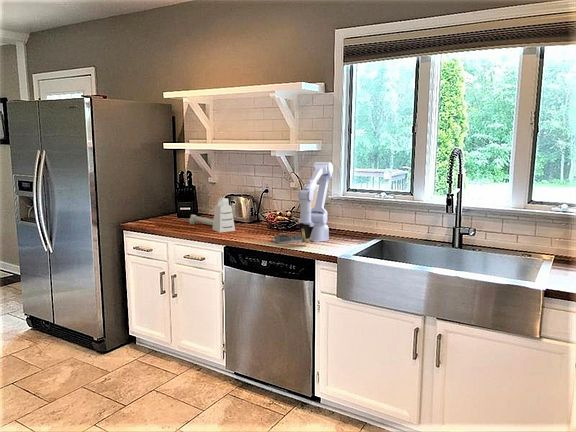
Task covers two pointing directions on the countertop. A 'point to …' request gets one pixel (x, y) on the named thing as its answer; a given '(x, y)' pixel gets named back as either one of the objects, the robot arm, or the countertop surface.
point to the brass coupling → (304, 236)
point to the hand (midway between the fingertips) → (305, 237)
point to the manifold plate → (287, 239)
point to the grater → (223, 216)
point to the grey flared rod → (200, 220)
